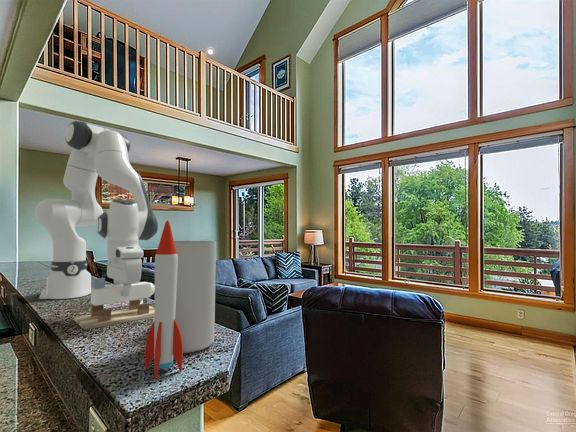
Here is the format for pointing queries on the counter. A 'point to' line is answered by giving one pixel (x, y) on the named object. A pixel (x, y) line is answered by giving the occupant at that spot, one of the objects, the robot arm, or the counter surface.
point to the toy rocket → (165, 308)
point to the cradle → (115, 315)
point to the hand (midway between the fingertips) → (122, 294)
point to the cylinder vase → (196, 293)
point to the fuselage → (118, 292)
